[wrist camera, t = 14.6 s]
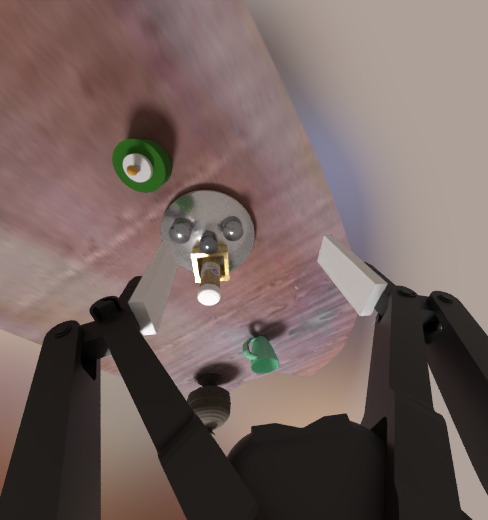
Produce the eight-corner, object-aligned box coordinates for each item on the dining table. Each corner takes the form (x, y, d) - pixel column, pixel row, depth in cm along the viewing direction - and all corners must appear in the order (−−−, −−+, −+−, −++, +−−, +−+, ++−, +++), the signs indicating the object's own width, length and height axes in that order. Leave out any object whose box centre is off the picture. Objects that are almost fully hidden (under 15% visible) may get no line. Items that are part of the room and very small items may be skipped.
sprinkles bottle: (222, 257, 48) (224, 293, 37) (216, 270, 50) (215, 308, 39) (205, 251, 47) (201, 287, 36) (199, 265, 49) (194, 303, 38)
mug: (277, 338, 73) (285, 364, 65) (259, 350, 76) (263, 376, 68) (251, 322, 66) (256, 349, 58) (232, 336, 69) (234, 364, 61)
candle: (144, 127, 34) (119, 124, 25) (180, 166, 38) (169, 175, 29) (117, 160, 36) (86, 167, 28) (154, 194, 40) (136, 209, 32)
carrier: (172, 274, 51) (168, 287, 47) (151, 190, 39) (142, 197, 35) (252, 269, 53) (255, 281, 49) (255, 188, 41) (259, 194, 37)
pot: (178, 383, 82) (172, 444, 65) (208, 363, 79) (211, 421, 62) (206, 393, 91) (207, 449, 75) (235, 376, 88) (243, 430, 71)
